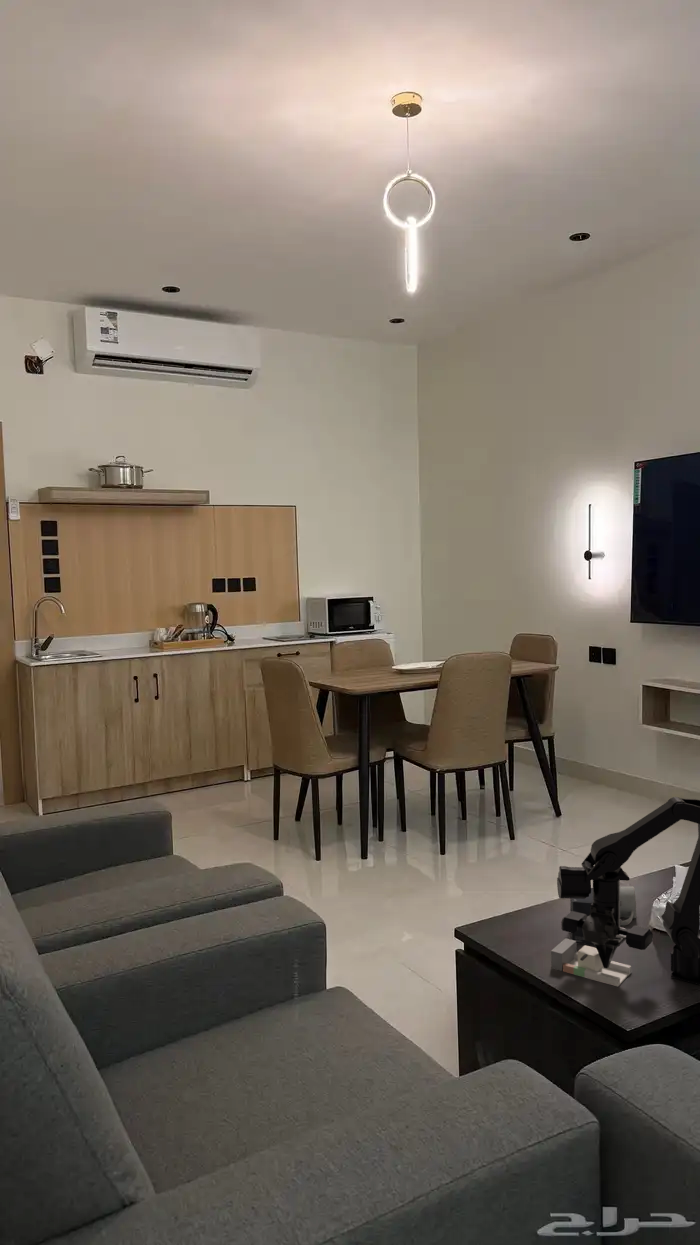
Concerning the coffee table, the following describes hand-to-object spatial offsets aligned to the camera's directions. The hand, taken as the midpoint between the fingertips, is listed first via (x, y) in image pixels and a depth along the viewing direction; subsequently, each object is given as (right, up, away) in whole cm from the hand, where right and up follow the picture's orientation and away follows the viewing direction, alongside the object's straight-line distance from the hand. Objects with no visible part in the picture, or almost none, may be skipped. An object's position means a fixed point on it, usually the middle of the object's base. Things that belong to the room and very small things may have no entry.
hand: (606, 967), depth 192 cm
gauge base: (-3, -2, +2) cm, 4 cm away
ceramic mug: (+13, 0, +31) cm, 33 cm away
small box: (+1, -1, +20) cm, 21 cm away
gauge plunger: (-4, -1, +1) cm, 4 cm away
